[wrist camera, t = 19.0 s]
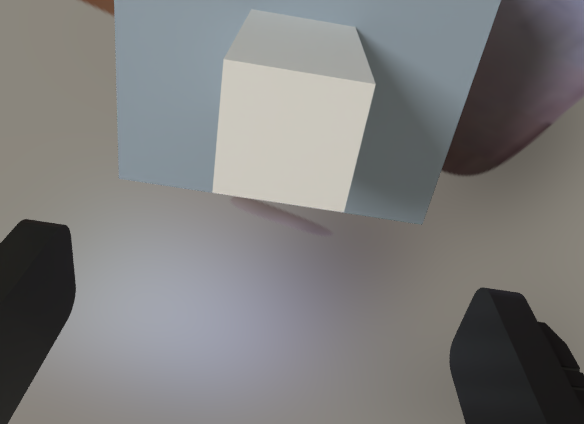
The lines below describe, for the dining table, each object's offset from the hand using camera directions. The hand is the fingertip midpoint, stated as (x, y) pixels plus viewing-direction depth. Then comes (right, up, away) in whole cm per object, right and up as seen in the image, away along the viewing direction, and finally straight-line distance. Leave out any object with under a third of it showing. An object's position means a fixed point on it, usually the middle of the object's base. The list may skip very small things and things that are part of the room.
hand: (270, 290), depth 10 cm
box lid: (+1, +8, +13) cm, 16 cm away
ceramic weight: (+1, +8, +13) cm, 15 cm away
